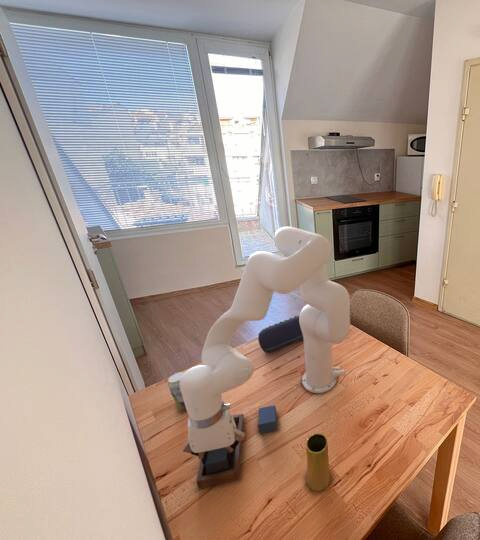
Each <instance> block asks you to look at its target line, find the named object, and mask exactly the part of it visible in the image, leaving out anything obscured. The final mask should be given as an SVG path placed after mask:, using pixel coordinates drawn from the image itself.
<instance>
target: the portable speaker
mask: <svg viewBox="0 0 480 540" xmlns="http://www.w3.org/2000/svg"><path fill="white" fill-rule="evenodd" d="M299 316H300V314H299V315H295V316H294V317H290V318H289V319H285V320H283V321H279V322H278V323H274V324H273V325H269V326H267V327H265V328H262V329H261V330H260V331H259V332H258V337H257V338H258V339H257V341H258V344H259V346H260V348H261V349H262V351H263V352H264V353H272V352H275V351H278V350H279V349H282V348H284V347H286V346H288V345H290V344H293V343H295V342H297V341H300V340H303V334H302V331H301V327H300V323H299Z"/></svg>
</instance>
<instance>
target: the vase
mask: <svg viewBox="0 0 480 540" xmlns="http://www.w3.org/2000/svg"><path fill="white" fill-rule="evenodd" d="M305 451H306V470H307V471H306V472H307V475H306V483H307V486H308V488H309V489H311V490H313V491H315V492H320V491H324V490H325V489H326V488H327V487H328V485H329V484H330V482H331V472H330V459H329V441H328V438H327V436H326V435H325V434H323V433H319V432H315V433H312V434H311V435H310V436H308V438H307V439H306V442H305Z"/></svg>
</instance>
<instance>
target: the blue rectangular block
mask: <svg viewBox="0 0 480 540" xmlns="http://www.w3.org/2000/svg"><path fill="white" fill-rule="evenodd" d="M257 417H258V419H257V427H258V433H259V434H260V435H261V434H266V433H270V432H275V431H277V430H278V428H277V427H278V425H277V424H278V423H277V422H278V421H277V407H276V405H275V404H273V405H269V406H263V407H259V408H258V416H257Z"/></svg>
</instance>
